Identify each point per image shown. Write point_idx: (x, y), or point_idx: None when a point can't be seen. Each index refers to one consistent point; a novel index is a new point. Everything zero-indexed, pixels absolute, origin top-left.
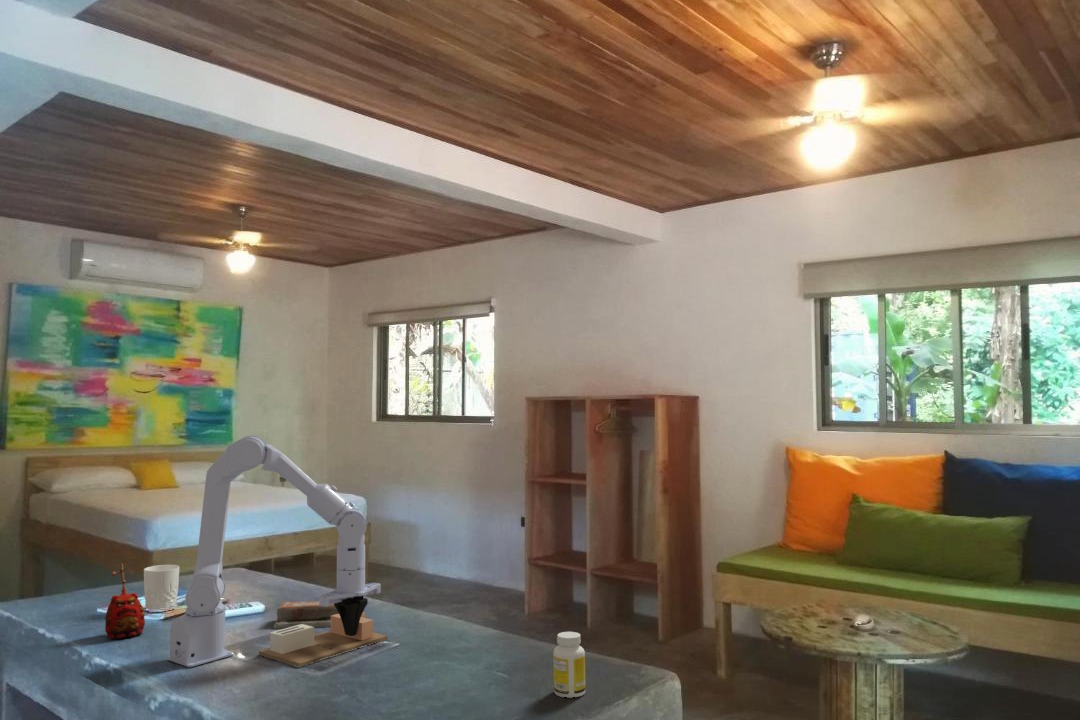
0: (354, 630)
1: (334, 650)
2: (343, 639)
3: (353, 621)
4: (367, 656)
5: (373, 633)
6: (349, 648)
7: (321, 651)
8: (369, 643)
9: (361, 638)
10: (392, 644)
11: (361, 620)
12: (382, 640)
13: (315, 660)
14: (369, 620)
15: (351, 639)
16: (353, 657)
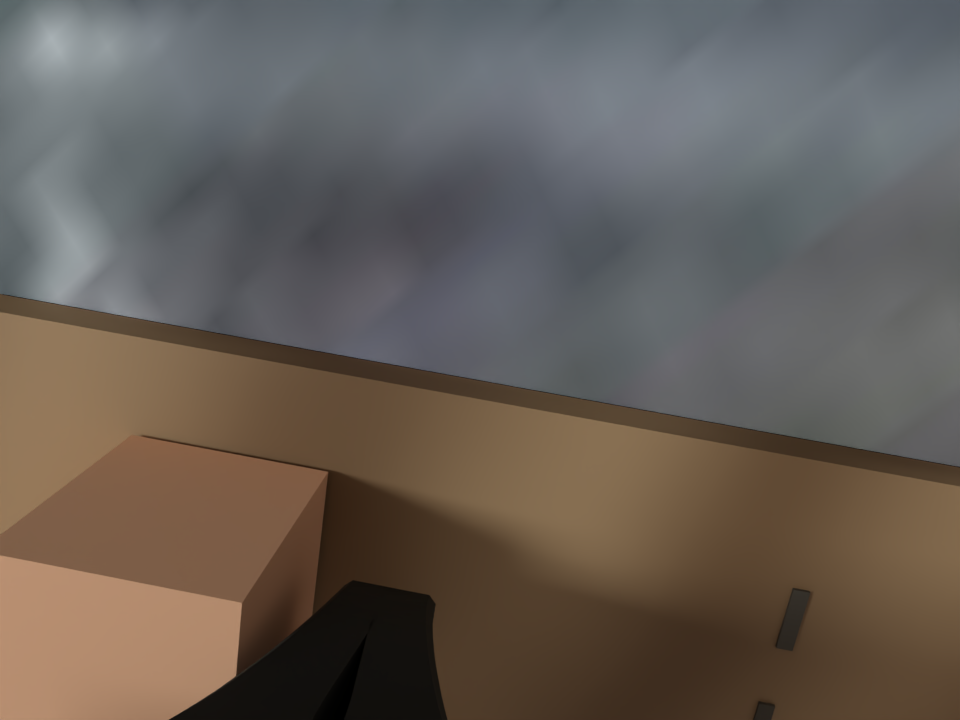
0: (384, 614)
1: (841, 533)
2: None
3: (399, 709)
4: (709, 52)
5: None
6: (652, 426)
7: (943, 653)
8: (298, 358)
9: (320, 491)
10: (104, 95)
11: (118, 709)
12: (78, 313)
13: None
14: (36, 592)
15: None
16: (826, 209)
